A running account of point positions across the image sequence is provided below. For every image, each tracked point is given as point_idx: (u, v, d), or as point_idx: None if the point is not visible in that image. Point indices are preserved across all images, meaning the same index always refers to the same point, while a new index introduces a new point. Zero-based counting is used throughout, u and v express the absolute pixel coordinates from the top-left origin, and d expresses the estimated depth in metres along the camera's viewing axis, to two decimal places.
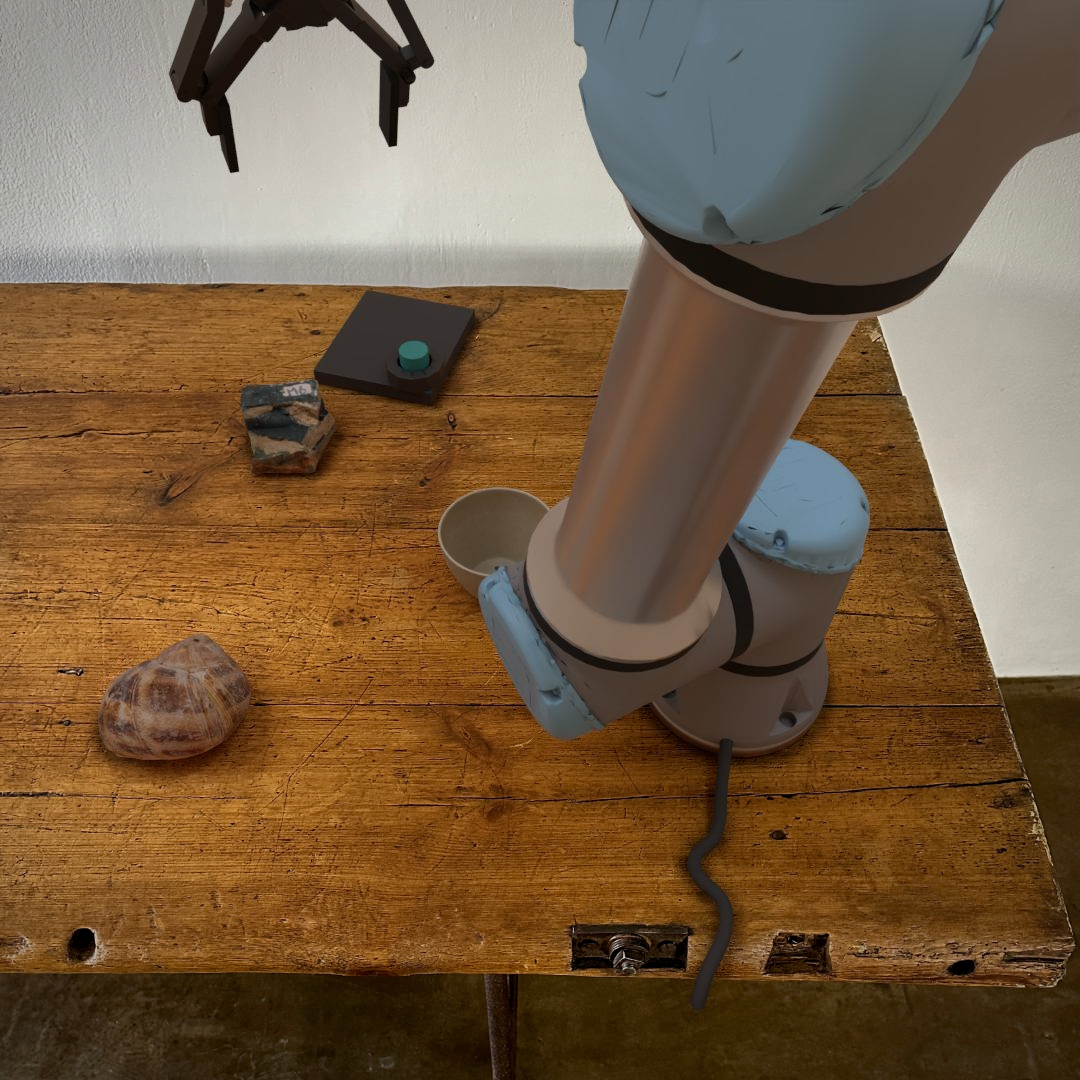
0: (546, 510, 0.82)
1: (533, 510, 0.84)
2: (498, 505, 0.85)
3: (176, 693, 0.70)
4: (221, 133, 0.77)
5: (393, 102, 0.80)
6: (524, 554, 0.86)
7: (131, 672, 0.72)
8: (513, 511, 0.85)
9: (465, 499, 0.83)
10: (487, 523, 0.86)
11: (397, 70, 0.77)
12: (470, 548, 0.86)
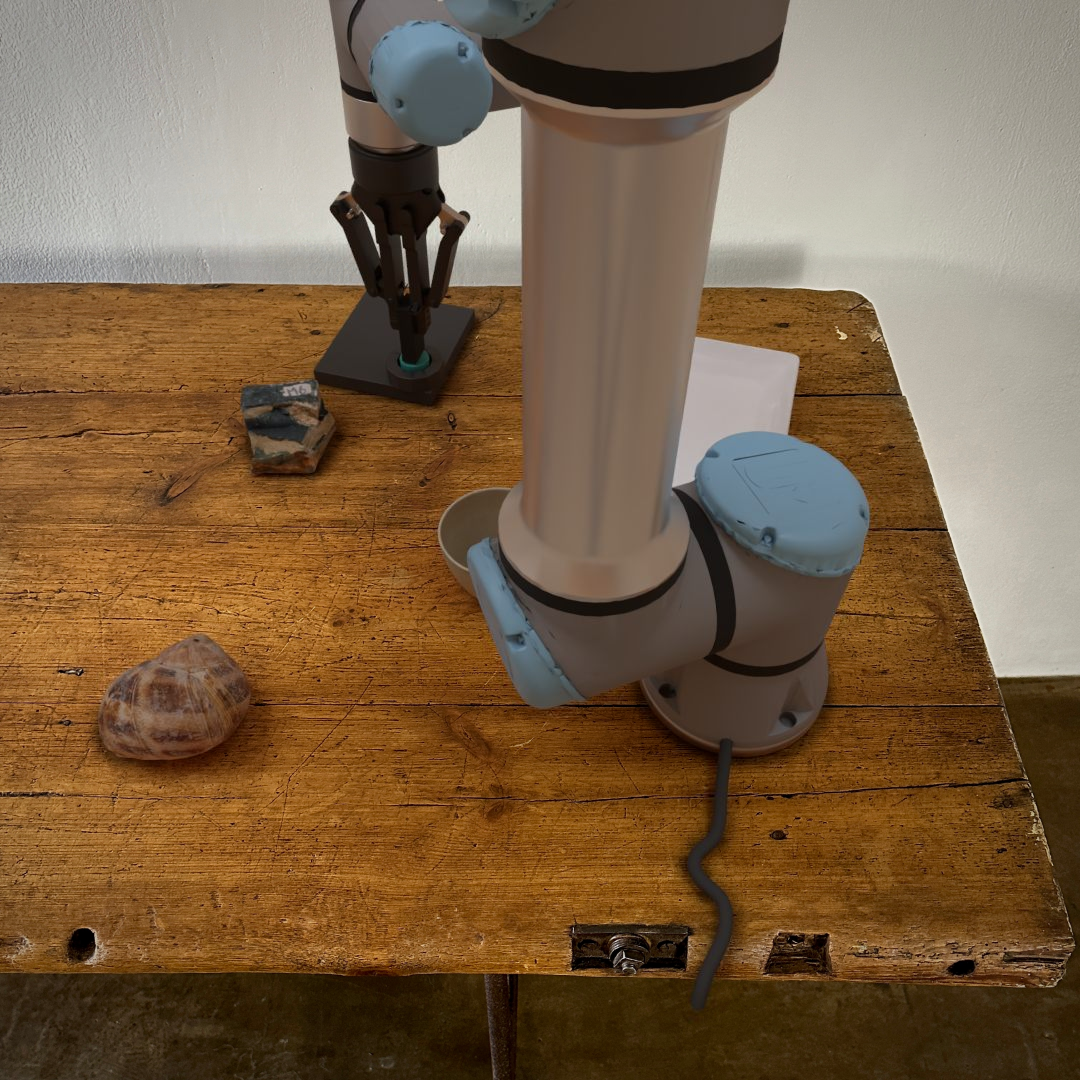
0: None
1: None
2: (498, 505, 0.85)
3: (176, 693, 0.70)
4: None
5: (408, 326, 0.96)
6: None
7: (131, 672, 0.72)
8: None
9: (465, 499, 0.83)
10: (487, 523, 0.86)
11: (412, 299, 0.93)
12: None
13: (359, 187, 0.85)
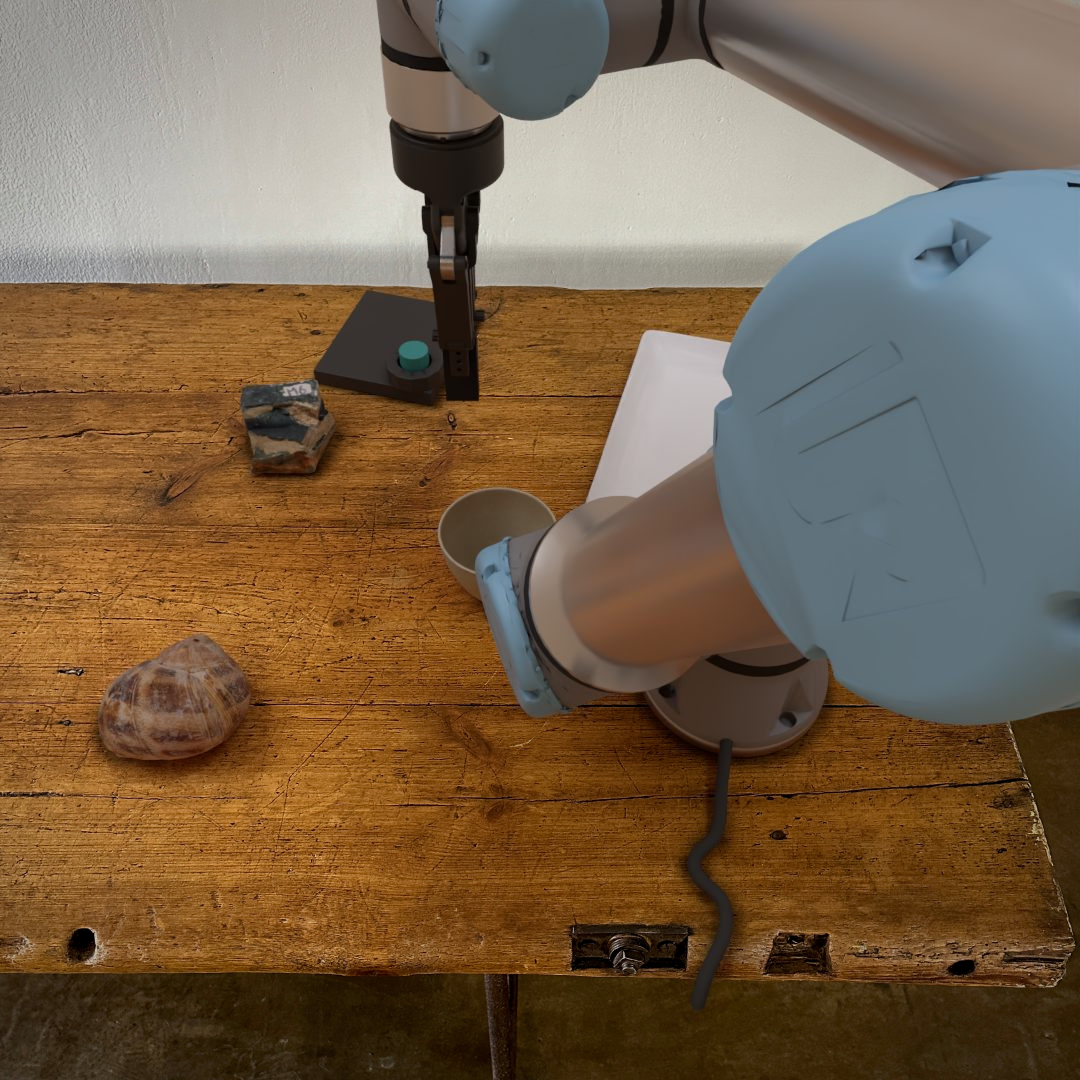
0: (546, 510, 0.82)
1: (533, 510, 0.84)
2: (498, 505, 0.85)
3: (176, 693, 0.70)
4: None
5: None
6: None
7: (131, 672, 0.72)
8: (513, 511, 0.85)
9: (465, 499, 0.83)
10: (487, 523, 0.86)
11: None
12: (470, 548, 0.86)
13: None
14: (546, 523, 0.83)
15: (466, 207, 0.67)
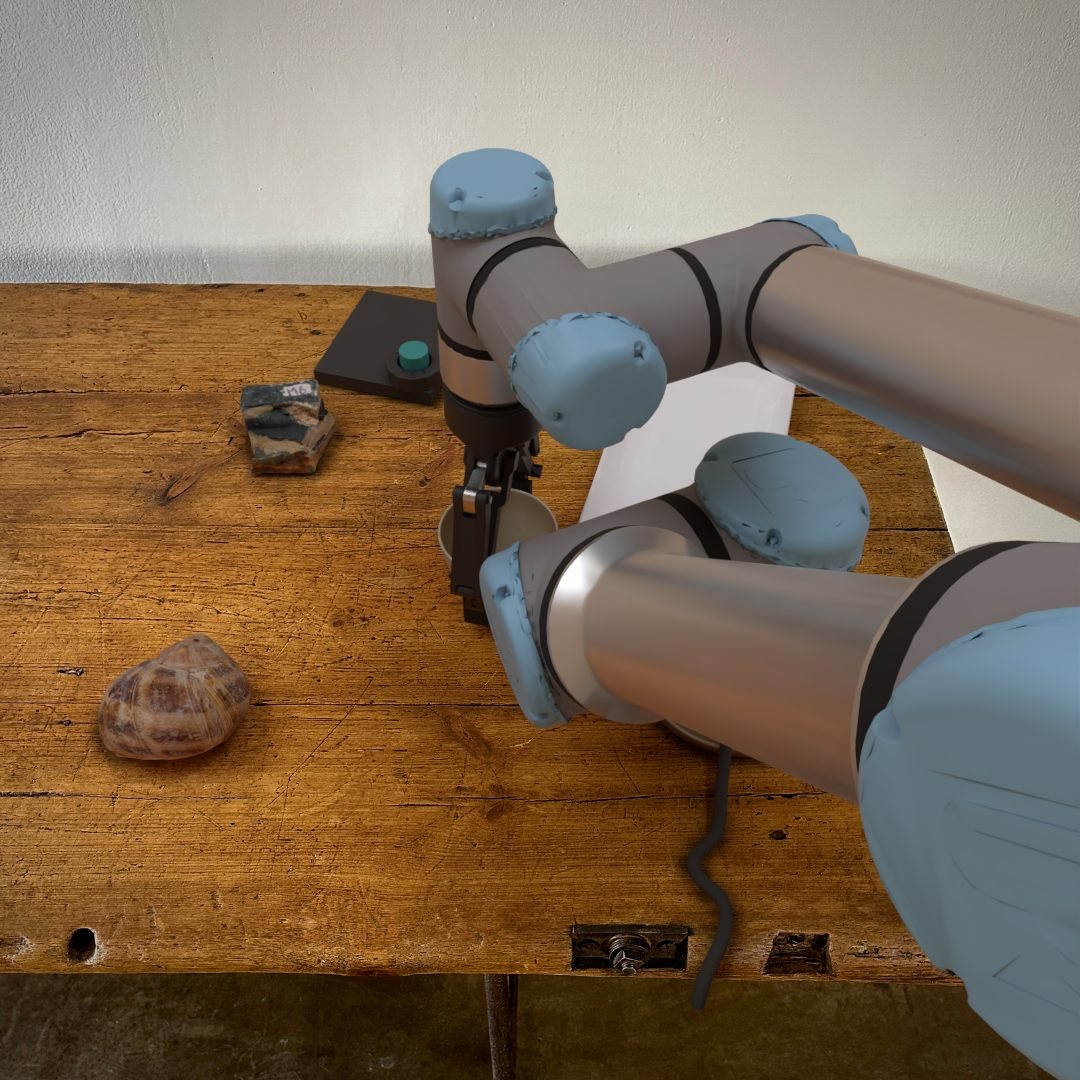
0: (546, 510, 0.82)
1: (533, 510, 0.84)
2: None
3: (176, 693, 0.70)
4: None
5: None
6: None
7: (131, 672, 0.72)
8: (513, 511, 0.85)
9: None
10: None
11: None
12: None
13: None
14: (546, 523, 0.83)
15: (505, 451, 0.71)
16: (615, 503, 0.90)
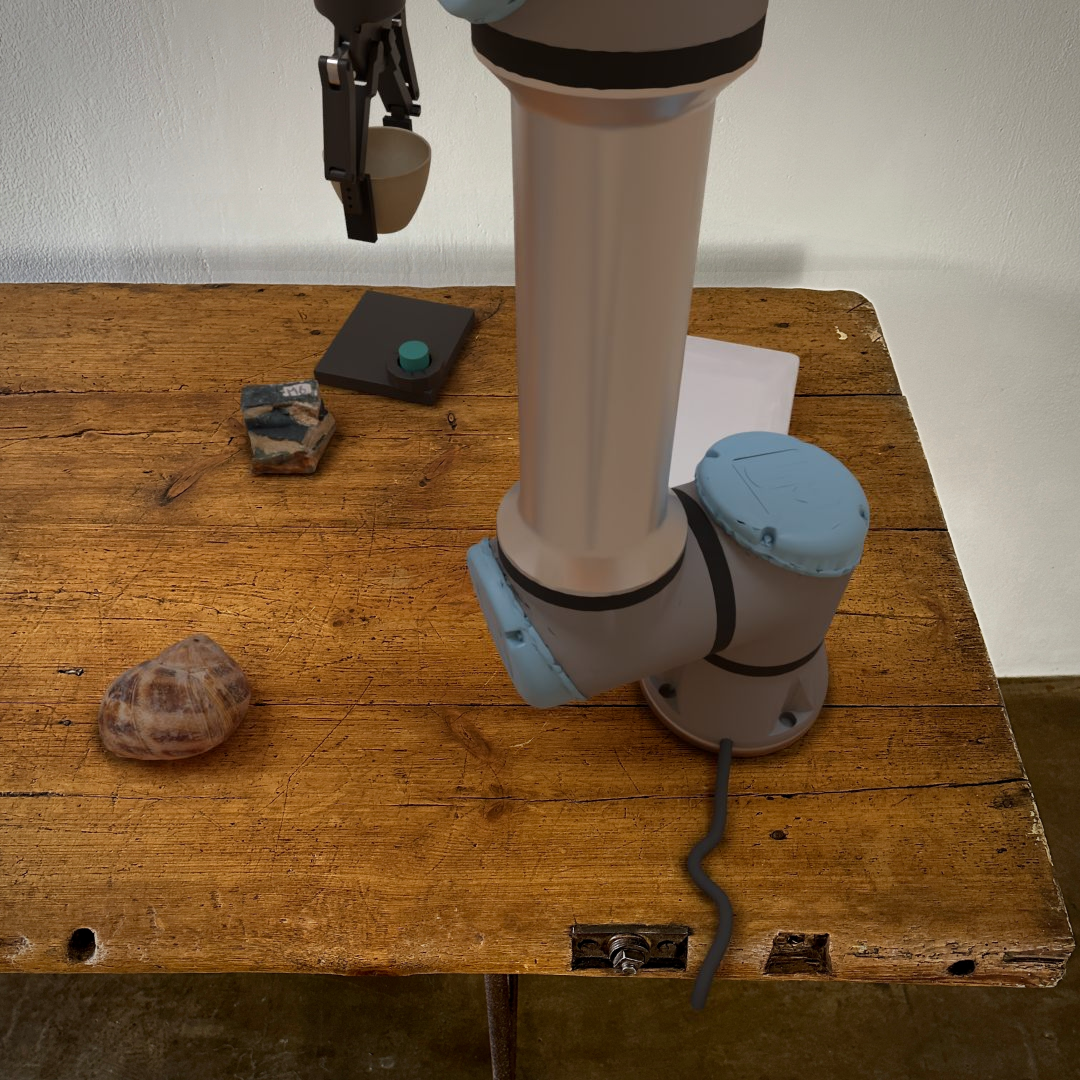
0: (422, 141, 0.92)
1: (413, 147, 0.93)
2: (382, 146, 0.94)
3: (176, 693, 0.70)
4: None
5: None
6: None
7: (131, 672, 0.72)
8: (396, 152, 0.94)
9: None
10: (373, 166, 0.95)
11: None
12: None
13: None
14: (423, 155, 0.92)
15: (369, 39, 0.81)
16: None
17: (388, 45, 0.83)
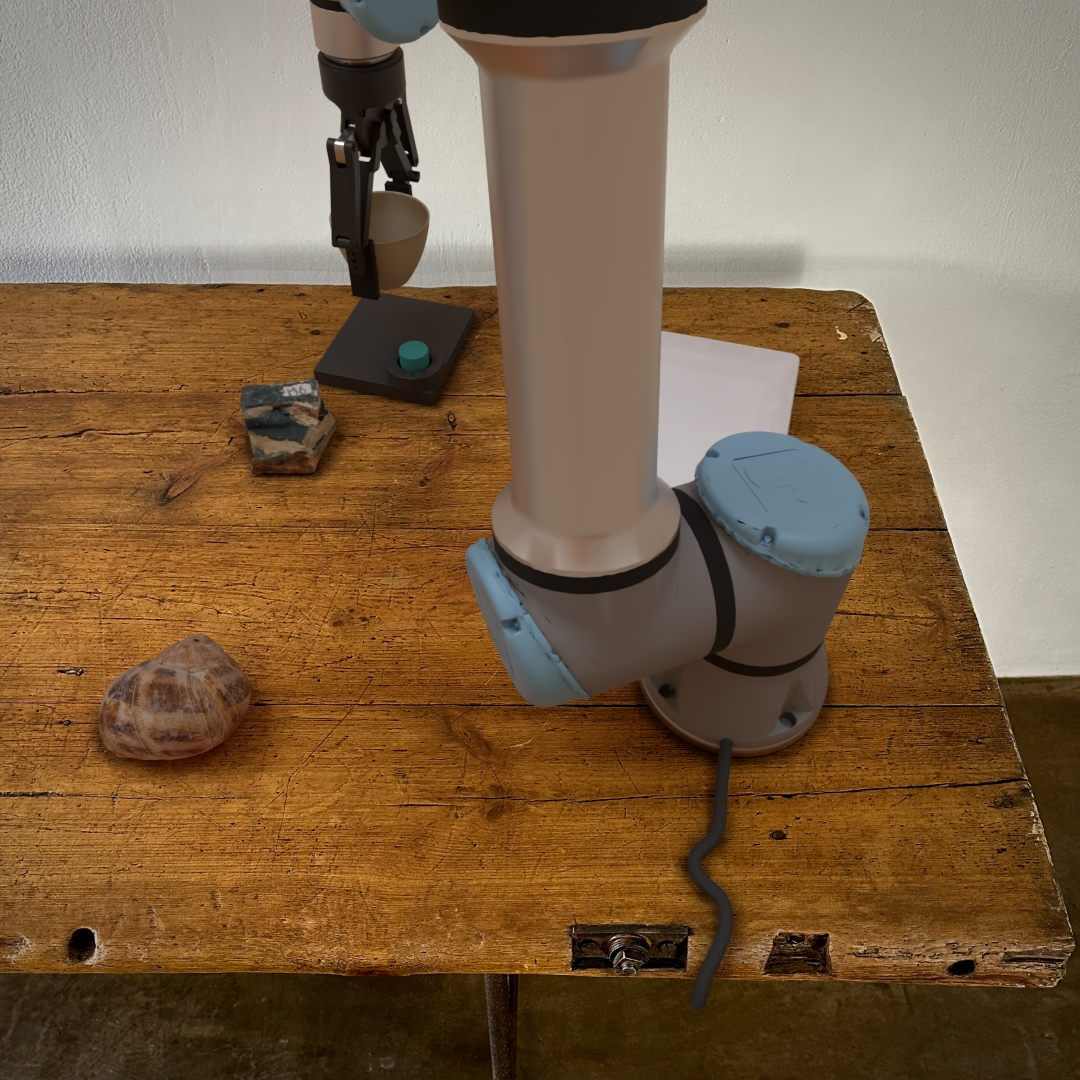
0: (421, 205, 0.99)
1: (412, 210, 1.01)
2: (384, 208, 1.02)
3: (176, 693, 0.70)
4: None
5: None
6: None
7: (131, 672, 0.72)
8: (397, 214, 1.02)
9: None
10: (376, 226, 1.03)
11: None
12: None
13: None
14: (422, 218, 1.00)
15: (373, 121, 0.88)
16: None
17: (390, 124, 0.91)
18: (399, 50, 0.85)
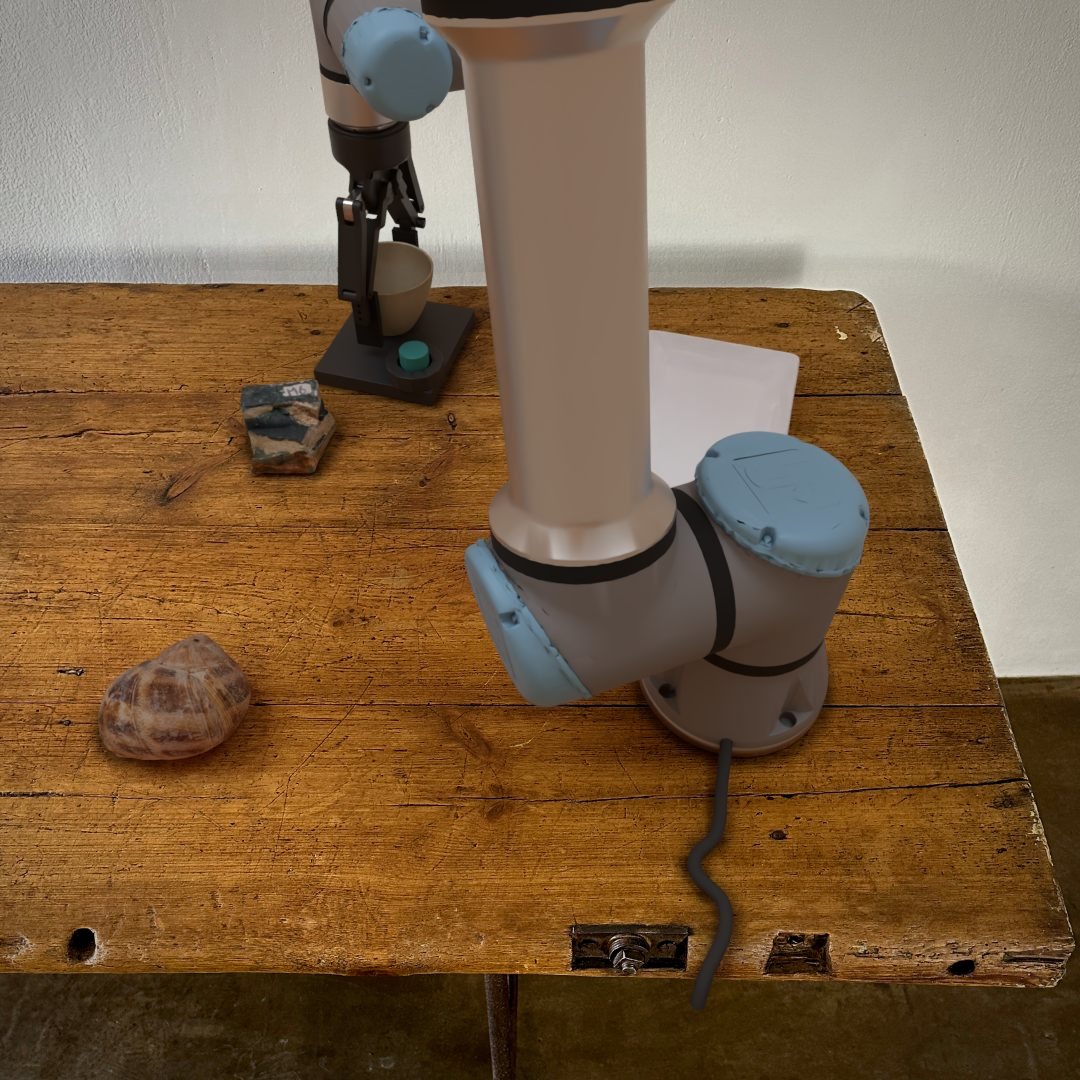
0: (425, 256, 1.04)
1: (417, 259, 1.05)
2: (389, 258, 1.06)
3: (176, 693, 0.70)
4: None
5: None
6: None
7: (131, 672, 0.72)
8: (402, 263, 1.06)
9: None
10: (382, 274, 1.07)
11: None
12: None
13: None
14: (426, 268, 1.04)
15: (380, 181, 0.93)
16: None
17: (396, 182, 0.95)
18: None
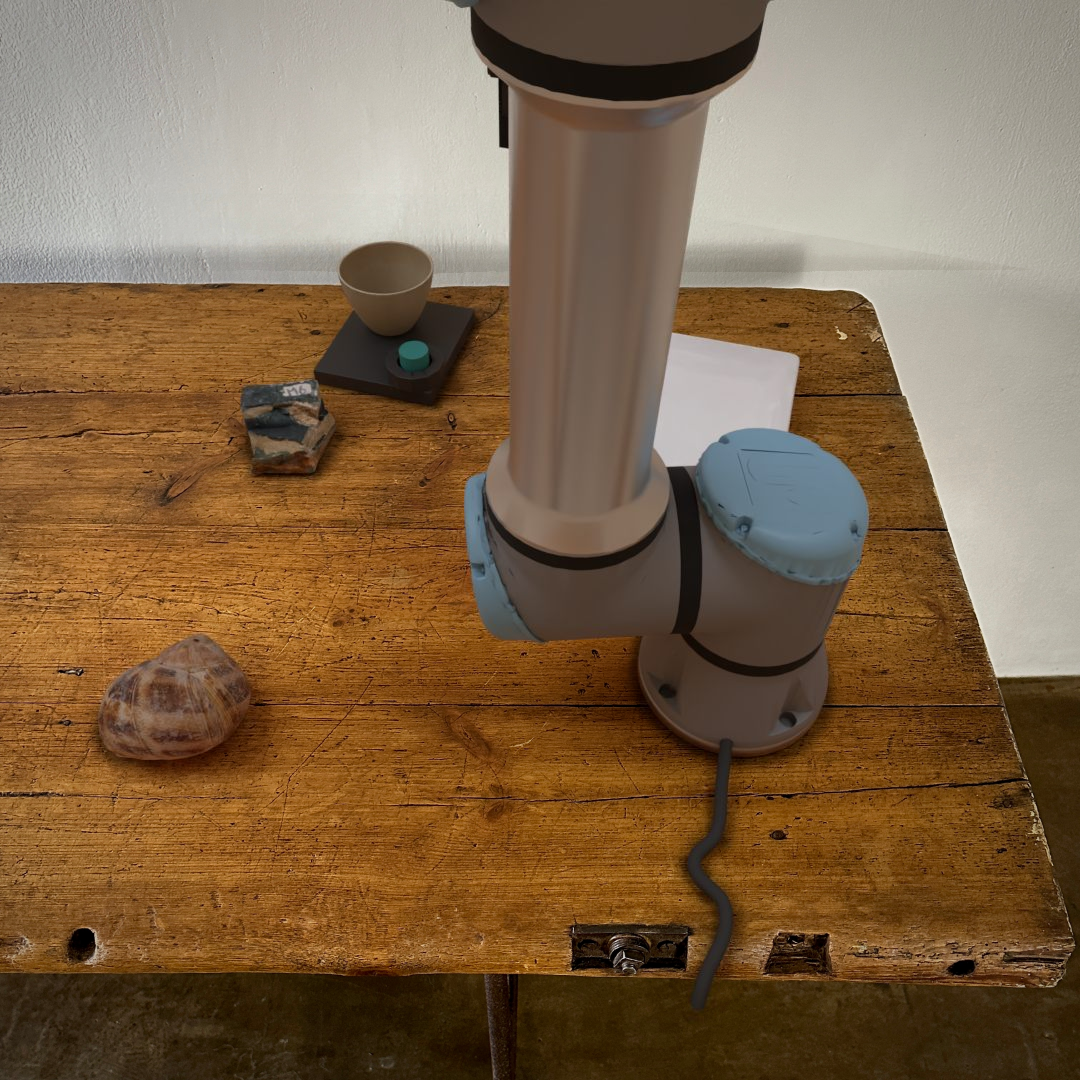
0: (425, 256, 1.04)
1: (417, 259, 1.05)
2: (389, 258, 1.06)
3: (176, 693, 0.70)
4: None
5: None
6: None
7: (131, 672, 0.72)
8: (402, 263, 1.06)
9: (362, 249, 1.04)
10: (382, 274, 1.07)
11: None
12: None
13: None
14: (426, 268, 1.04)
15: None
16: None
17: None
18: None
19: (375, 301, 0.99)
